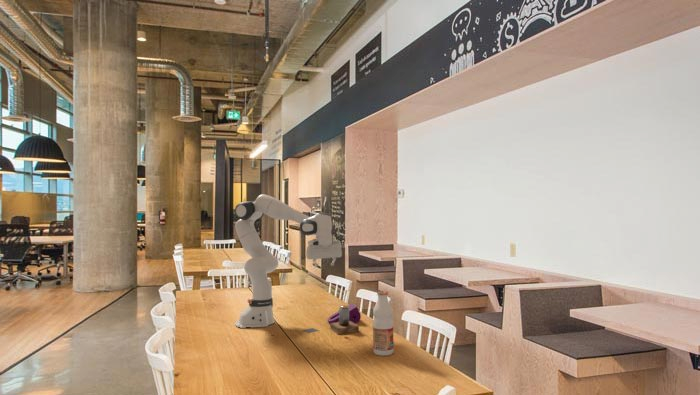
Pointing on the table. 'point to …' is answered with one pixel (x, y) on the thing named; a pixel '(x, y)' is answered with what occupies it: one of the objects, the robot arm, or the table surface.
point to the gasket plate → (310, 330)
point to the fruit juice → (383, 326)
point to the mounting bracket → (353, 315)
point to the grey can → (344, 315)
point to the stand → (344, 328)
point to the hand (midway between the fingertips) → (324, 266)
